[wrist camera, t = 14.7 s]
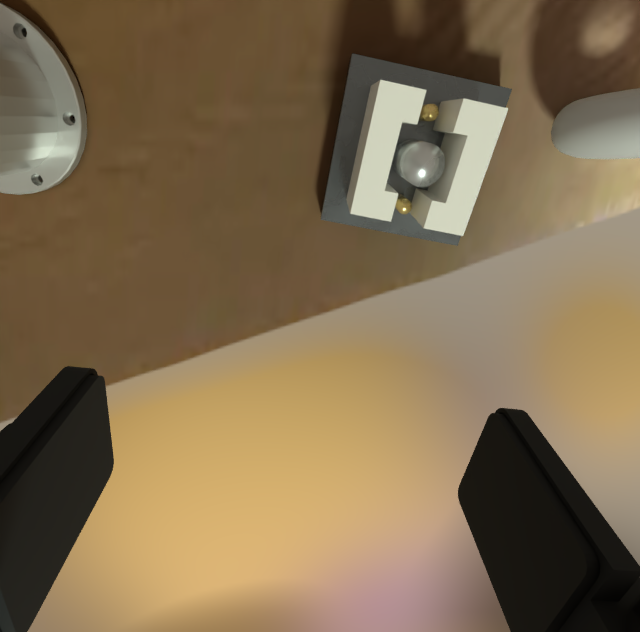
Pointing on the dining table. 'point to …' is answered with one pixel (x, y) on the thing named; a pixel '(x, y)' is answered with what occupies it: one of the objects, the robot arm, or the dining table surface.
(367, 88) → the post base
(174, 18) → the dining table surface
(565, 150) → the donut
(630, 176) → the dining table surface
